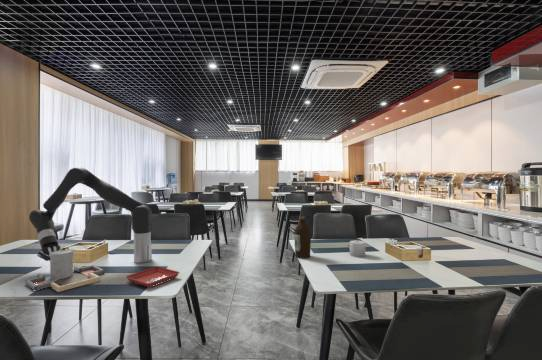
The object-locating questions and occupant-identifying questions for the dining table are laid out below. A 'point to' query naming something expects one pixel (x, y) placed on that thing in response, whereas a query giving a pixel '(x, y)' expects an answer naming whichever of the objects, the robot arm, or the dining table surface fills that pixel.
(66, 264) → the grey concrete cylinder
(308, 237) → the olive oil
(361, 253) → the toilet tissue
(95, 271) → the two-trap box
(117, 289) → the dining table surface
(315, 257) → the dining table surface
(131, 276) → the plant saucer
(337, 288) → the dining table surface
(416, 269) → the dining table surface
